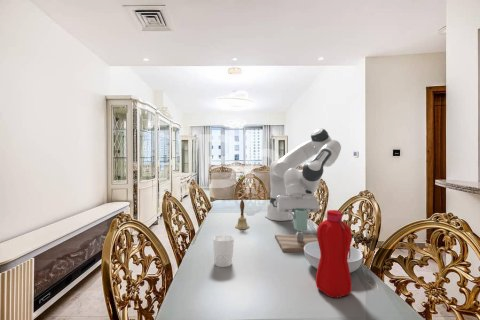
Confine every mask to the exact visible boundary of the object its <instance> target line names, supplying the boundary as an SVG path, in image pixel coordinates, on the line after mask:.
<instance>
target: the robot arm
mask: <svg viewBox="0 0 480 320" xmlns="http://www.w3.org/2000/svg"><path fill="white" fill-rule="evenodd" d="M310 138H311V139H310V140H307V141H304V142H302V143H300V144H299V145H298V146H296V147H295V148H292V149H291V150H289V152H287V153H286V154H284V156H283V157H281V158H279V159H278V160H274V161H272V162H271V163H270V165H269V183H270V197H269V204H268V205H267V210H266V212H267V213H266V215H265V216H264V218H265V219H268V220H271V221H280V222H282V221H294V219H296V216H295V215H294V209H305V210H306V211H307V220H309V219H310V213H317V212H319V210H320V204H319V201H318V199H317V197H316V196H315V195H314V194H315V192H316V191H317V190H318V187H319V184H320V182H321V179H322V176H323V173H324V167H327V168H328V167H331V166H332V165H334V164H335V162H336V161H337V159H338V157H339V156H340V153H341V150H342V145H341V143H340V142H339V141H338V140H336V139H332V137H331V136H330V135H329V133H328V131H327V130H326V128H325V129H324V128H318V129H316V130H314V131H313V132H312V133H311V134H310ZM312 157H314V158H313V159H312V160H310V159H311V158H312ZM308 160H310V161H308ZM306 161H307V162H306ZM305 162H306V163H305ZM303 163H305V164H304V165H303V166H302V172H301V171H299V170H298V169H297V167H299V166H300V165H302V164H303Z"/></svg>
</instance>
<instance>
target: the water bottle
mask: <svg viewBox="0 0 480 320" xmlns="http://www.w3.org/2000/svg"><path fill="white" fill-rule="evenodd" d="M352 235H353V234H352V230H351V227H350V226H349V225H348V224H347V223H346V222H344V221H343V212H342V211H341V210H337V209H328V210H327V211H326V219H325V220H324V221H321V222H320V223H319V225H318V227H317V229H316V237H317V239H318V243H319V248H320V261H319V265H318V269H317V268H316V269H317V270H316V274H315V275H316V276H315V286H316V287H317V289H318V290H319V291H321V292H322V293H323V294H325V295H327V296H328V297H330V298H341V297H343V296H348V295H350V293H351V292H352V276H351V273H350V271H349V266H348V261H347V259H349V258H350V246H352V240H353V236H352ZM348 253H349V258H348Z"/></svg>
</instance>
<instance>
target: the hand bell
mask: <svg viewBox="0 0 480 320" xmlns="http://www.w3.org/2000/svg"><path fill="white" fill-rule="evenodd" d="M239 209H240V217H239V218H238V220H237V224H236V225H235V229H236V230H237V229H238V230H247V229H249V228H250V226H249V225H248V222H247V218H246V217H245V215H244V211H245V201H244V199H241V200H240V204H239Z"/></svg>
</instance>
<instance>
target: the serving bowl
mask: <svg viewBox="0 0 480 320" xmlns="http://www.w3.org/2000/svg"><path fill="white" fill-rule="evenodd" d="M303 253H304V257H305V259H306V261H307V262H308V264H310V265H311V266H312V267H314V268H315V269H318V265H319V261H320V248H319V243H318V241H316V242H311V243H308V244H306V245H305V246H304V252H303ZM348 258H349V253H348ZM363 260H364V255H363V252H362V251H361V250H359V249H358V248H356V247H354V246H352V245H350V258H349V259H347V261H348V266H349V271H350V274H351V273H354V272H355V271H357V270H358V269H359V268H360V267H361V265H362V263H363Z"/></svg>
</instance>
